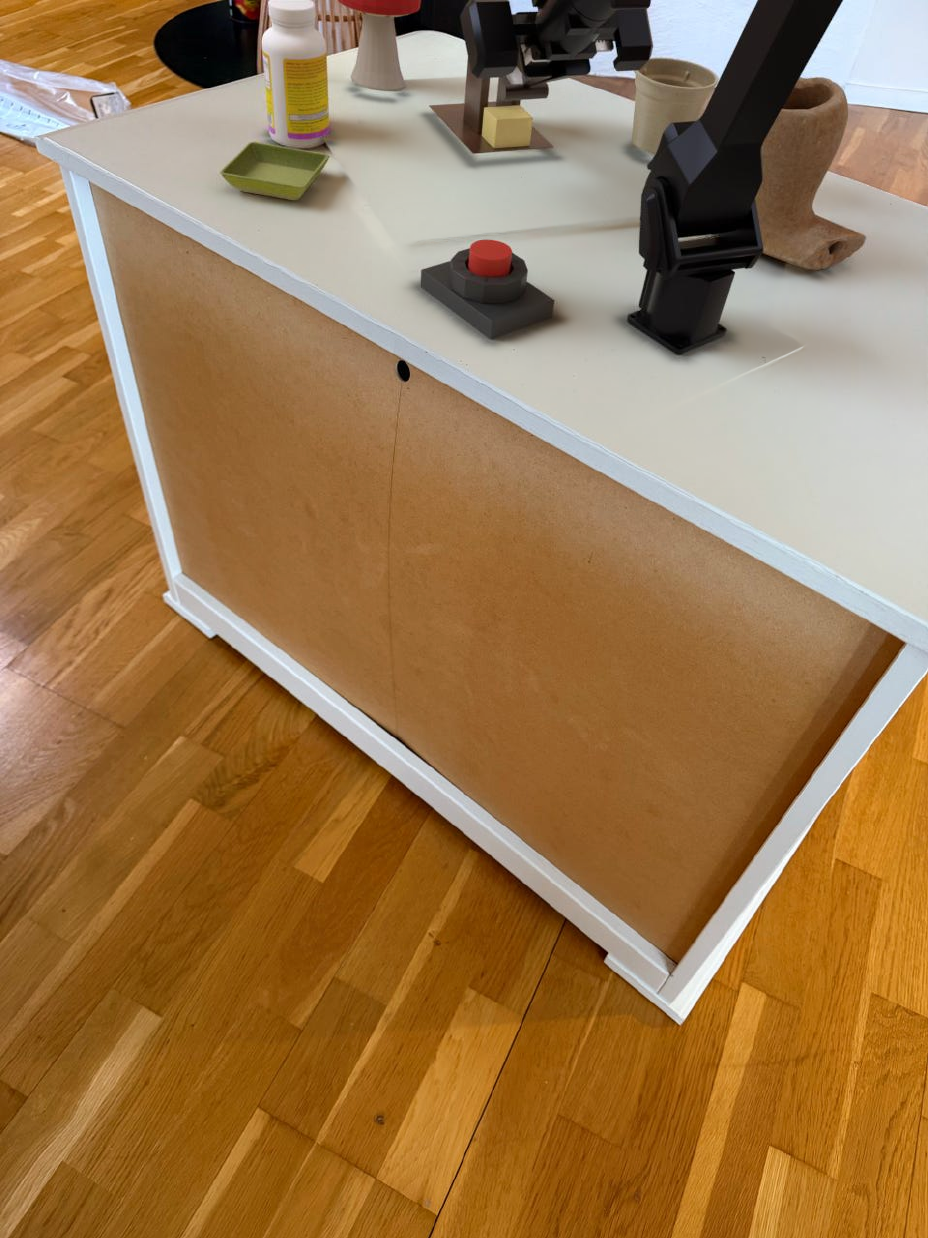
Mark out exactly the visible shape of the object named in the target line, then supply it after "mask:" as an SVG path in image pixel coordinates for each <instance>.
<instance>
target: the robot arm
mask: <svg viewBox="0 0 928 1238" xmlns="http://www.w3.org/2000/svg"><path fill="white" fill-rule="evenodd" d="M843 1H844V0H756V3H755V4H754V6H753V9H752V11H751V13H750V15H749V17H748V19H747V21H746V23H745V25H744V28H743V30H742V32H741V34H740V36H739V38H738V40H737V43H736V44H735V47H734V48H733V51H732V53H731V55H730V57H729V59H728V61H727V63H726V65H725V67H724V70H723V71H722V74H721V75H720V78H719V80H718V83H717V85H716V86H715V87H714V90H713V93H712V94H711V95H710V99H709V101H708V103H707V105H706V108H705V109H704V110H703V113H702V114H701V116H699V118H698V120H697V121H686V122H672V123H670V124H669V126H668V127H667V128H666V130H665V131H664V132H663V135H662V138H661V141H660V144H659V147H658V150H657V152H656V154H654V155H653V158H652V159H651V160H650V161H649V162H648V163H647V165H646V169H647V170H648V171H649V174H648V175H647V177H646V179H645V182H644V185H643V188H642V190H641V191H642V192H641V194H640V207H639V208H640V209H639V210H640V211H639V230H638V231H639V234H638V254H639V256H640V257H641V258H642V259H643V264H642V267H643V268H644V269H645V270H646V271H645V275H644V276H645V277H644V280H643V284H642V288H641V292H640V296H639V299H638V305H637V307H638V308H639V310H636V311H633V312H631V313H628V314H627V317H626V322H627V323H629V324H630V325H631V326H633V327H635V328H636V329H637V330H639V331H641V332H642V333H644V334H645V335H647V336H649V337H650V338H651V339H653V340H654V341H656V342H657V343H659V344H660V345H662V346H663V347H665V348H666V349H668V350H669V351H671V352H673V353H674V354H678V355H682V354H685V353H687V352H689V351H691V350H694V349H696V348H698V347H701V346H703V345H705V344H707V343H711V342H713V341H715V340H717V339H720V338H722V337H724V336H726V334H727V332H728V329H727V327H725V326H724V325H723V324H720V321H721V319H722V315H723V311H724V309H725V306H726V303H727V299H728V297H729V293H730V291H731V287H732V284H733V281H734V278H735V275H736V271H735V270H741V269H744V270H749V269H753V267H754V266H755V265H756V263H757V262H758V260H759V259H760V257H761V256H762V254H764V253H763V242H762V236H761V231H760V225H759V219H758V213H757V207H756V201H755V197H756V195H757V193H758V191H759V188H760V186H761V184H762V181H763V163H762V145H763V142H764V140H765V138H766V136H767V135H768V133H769V131H770V129H771V128H772V126H773V124H774V122H775V120H776V119H777V117H778V115H779V113H780V112H781V110H782V108H783V106H784V104H785V103H786V101H787V99H788V97H789V96H790V94H791V92H792V90H793V88H794V87H795V85H796V83H797V81H798V80H799V78H800V77H802V74H803V72H804V71H805V70H806V68H807V65H808V64H809V62H810V60H811V58H812V56H813V55H814V54H815V51H816V49H818V46H819V44H820V42H821V41H822V39H823V37H824V35H825V33H826V32H827V30H828V29H829V27H830V25H831V23H832V21H833V20H834V18H835V15H836V14H837V12H838V10H839V8H840V7H841V5H842V4H843ZM651 4H652V0H531V5H532V7H533V8H537V11H517V12H516V13H513V12H512V7H511V2H510V0H468V1H467V2H466V4H465V6H464V8H463V10H462V12H461V13H460V15H459V18H460V23H461V28H462V34H463V39H464V44H465V48H466V55H467V61H468V60H469V65H470V70H471V73H472V74H473V75H474V76H475V77H477V78H490V79H495V78H496V79H498V78H499V77H504V76H506V75H509V74H511V73H513V72H514V70H515V69H516V67H517V62H518V53H519V59H520V64H521V69H522V82H523V86H524V87H526V86H534V85H538V84H543V83H547V84H548V83H551V82H557V81H561V80H567V79H570V78H576V77H583V76H584V77H585V76H587V75H589V74H590V72H591V70H592V66H591V62H590V61H591V60H590V59H594V58H595V56H596V55H597V54H598V53H602V52H604V53H605V52H608V53H609V52H612V51H613V50H614V49H615V50H616V57H615V58H614V59H613V60H612V65H613V68H614V70H615V71H616V72H634V71H637V70H640V69H641V68H642V67H643V66H644V65H645V64H646V63H647V62H648V60H649V59H650V58H652V54H653V49H654V41H653V36H652V30H651V25H650V17H649V13H648V9H649V8H650V7H651ZM708 235H717V236H715V237H706V238H696V239H688V240H681V241H679V239H683V238H693V237H700V236H701V237H702V236H708Z"/></svg>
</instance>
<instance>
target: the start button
mask: <svg viewBox="0 0 928 1238" xmlns="http://www.w3.org/2000/svg"><path fill="white" fill-rule="evenodd" d="M469 248H470V252H469V264H468V269H469V270H470V271H471V272H472V273H474V274H477V275H480V276H484V277H498V278H499V277H502V276H505V275H508V274H509V272H510V265H511V257H512V253H513V249H512V247H511V246H510V245H508V244H507V243H505V242H503V241H500V240H495V239H480V240H476V241H474V242H472V243H471V245H470V246H469Z"/></svg>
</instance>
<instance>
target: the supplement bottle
mask: <svg viewBox="0 0 928 1238" xmlns="http://www.w3.org/2000/svg"><path fill="white" fill-rule="evenodd" d="M267 4H268V5H267V7H268V17H269V19H270V21H271V26H270V27H269V28H267V29H266V30H265V31H264V32H263V35H262V36H261V37H262V38H261V52H262V63H263V65H262V66H263V76H264V88H265V99H266V101H265V102H266V111H267V112H266V114H267V124H268V125H267V126H268V133H269V137H270V138H271V139H272V141H274V142H275V143H277V144H278V145H280V146H283V147H288V148H294V149H312V148H316V147H319V146H322V145H323V144H325V143H326V141H325V140H324V139H323V137H324V136H326V135H328V133H329V132H330V110H329V83H328V82H329V81H328V54H327V52H328V50H327V42H326V39H325V37H324V36H323V35H322V33H321V32H320V31H319V30H317V29H316V28H315V22H316V19H317V13H316V10H317V9H316V3H315V2H314V1H313V0H268V2H267Z"/></svg>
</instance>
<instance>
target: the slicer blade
mask: <svg viewBox="0 0 928 1238" xmlns="http://www.w3.org/2000/svg"><path fill="white" fill-rule="evenodd" d="M506 76H507V78H508V79H509V81H510V83H511V84H510V85H502V87H501V99H502V100H503V101H510V100H521V101H524V100H526V101H527V100H542V99H548V97H549V94H550V87H549V84H548V82H547V83H543V84H538V85H534V86H526V87H524V86H523V82H522V73H521V72H520V70H519V69H518V67H516V69H515V70H514V72H513V73H511V74H509V75H506Z"/></svg>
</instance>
